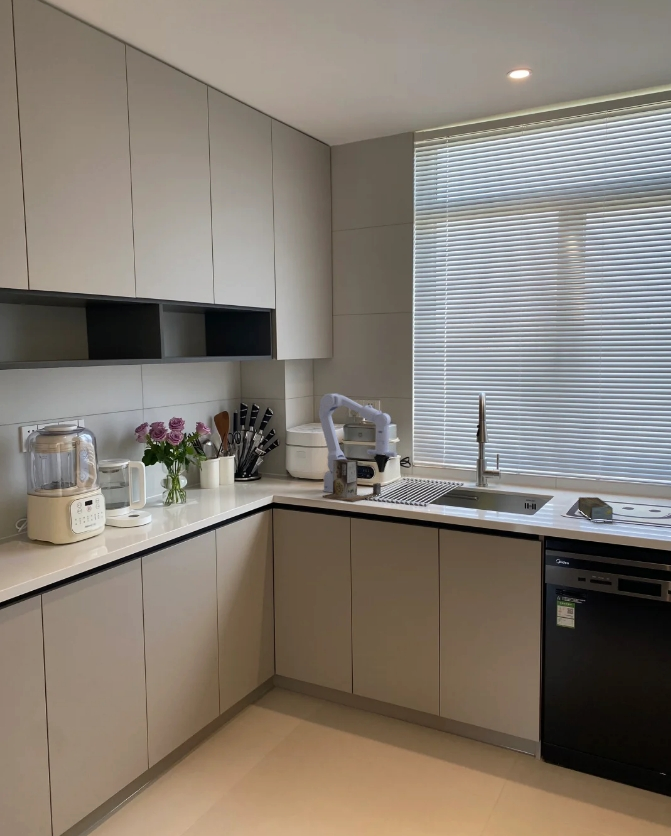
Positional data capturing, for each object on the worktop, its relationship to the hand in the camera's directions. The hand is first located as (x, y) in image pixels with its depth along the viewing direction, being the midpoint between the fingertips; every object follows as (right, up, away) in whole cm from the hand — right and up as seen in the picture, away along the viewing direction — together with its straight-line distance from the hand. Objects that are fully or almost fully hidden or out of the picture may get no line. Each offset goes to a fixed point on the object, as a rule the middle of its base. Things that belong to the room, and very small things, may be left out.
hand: (381, 472), depth 305 cm
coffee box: (-16, -11, -5) cm, 20 cm away
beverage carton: (+79, -15, -38) cm, 89 cm away
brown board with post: (-13, -10, -3) cm, 17 cm away
